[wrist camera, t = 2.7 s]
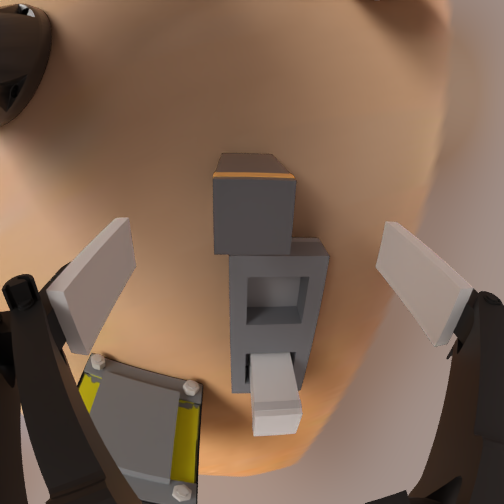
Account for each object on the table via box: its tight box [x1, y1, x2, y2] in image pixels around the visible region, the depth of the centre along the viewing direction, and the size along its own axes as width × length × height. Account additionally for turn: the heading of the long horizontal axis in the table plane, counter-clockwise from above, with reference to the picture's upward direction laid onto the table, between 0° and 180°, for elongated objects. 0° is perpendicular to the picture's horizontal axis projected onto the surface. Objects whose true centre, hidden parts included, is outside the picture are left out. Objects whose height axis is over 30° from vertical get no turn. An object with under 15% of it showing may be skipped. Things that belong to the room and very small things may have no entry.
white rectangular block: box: [249, 352, 303, 436], centre depth 30 cm, size 5×5×11 cm
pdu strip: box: [229, 238, 330, 393], centre depth 32 cm, size 20×9×4 cm, turn 178°
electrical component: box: [77, 353, 203, 504], centre depth 30 cm, size 18×10×20 cm, turn 71°
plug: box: [213, 153, 296, 255], centre depth 21 cm, size 5×5×11 cm
